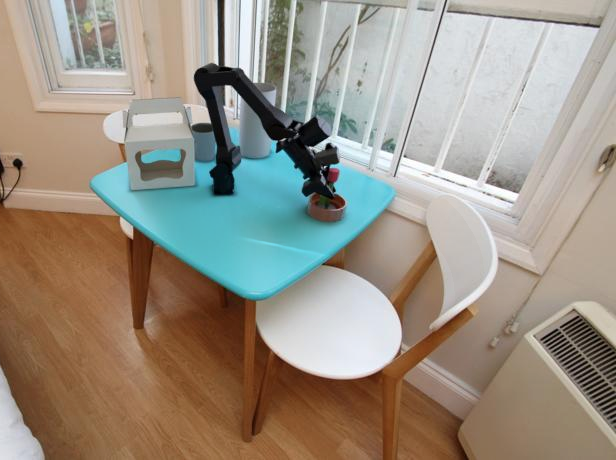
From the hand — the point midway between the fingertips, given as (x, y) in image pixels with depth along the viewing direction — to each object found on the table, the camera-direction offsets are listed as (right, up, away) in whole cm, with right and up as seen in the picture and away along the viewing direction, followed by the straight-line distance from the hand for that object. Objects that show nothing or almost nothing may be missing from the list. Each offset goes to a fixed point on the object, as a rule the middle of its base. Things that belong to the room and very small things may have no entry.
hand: (334, 195), depth 109 cm
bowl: (-1, -5, +4) cm, 7 cm away
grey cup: (-37, +18, +37) cm, 56 cm away
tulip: (-1, -5, +4) cm, 6 cm away
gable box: (-52, +8, +24) cm, 58 cm away
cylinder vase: (-17, +20, +40) cm, 48 cm away
